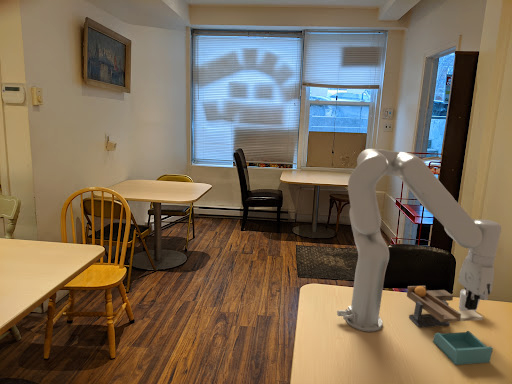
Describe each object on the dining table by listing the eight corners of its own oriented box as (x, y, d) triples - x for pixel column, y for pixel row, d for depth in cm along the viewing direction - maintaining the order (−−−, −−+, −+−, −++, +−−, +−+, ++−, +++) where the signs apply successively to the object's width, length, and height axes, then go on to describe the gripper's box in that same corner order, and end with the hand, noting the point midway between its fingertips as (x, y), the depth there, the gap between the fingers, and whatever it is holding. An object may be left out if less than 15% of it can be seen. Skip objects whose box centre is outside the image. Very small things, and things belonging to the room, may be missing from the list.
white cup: (480, 316, 138) (484, 299, 136) (460, 313, 139) (463, 296, 137) (473, 306, 144) (477, 290, 142) (454, 303, 145) (458, 287, 144)
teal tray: (455, 364, 111) (458, 350, 110) (433, 341, 121) (435, 328, 120) (489, 362, 113) (492, 348, 111) (464, 339, 123) (467, 326, 122)
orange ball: (418, 298, 136) (418, 287, 135) (412, 295, 139) (412, 284, 139) (428, 298, 136) (428, 287, 136) (421, 294, 140) (422, 284, 140)
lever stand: (418, 327, 129) (421, 307, 127) (408, 317, 134) (412, 298, 133) (449, 325, 131) (453, 306, 129) (438, 315, 136) (442, 297, 135)
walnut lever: (440, 322, 121) (442, 310, 120) (406, 296, 140) (407, 286, 140) (483, 319, 123) (484, 308, 123) (443, 294, 143) (444, 284, 142)
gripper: (454, 248, 127) (445, 297, 131) (487, 268, 112) (476, 321, 117) (474, 248, 128) (464, 296, 132) (509, 267, 113) (497, 320, 118)
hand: (470, 308), depth 124 cm, fingers closed
